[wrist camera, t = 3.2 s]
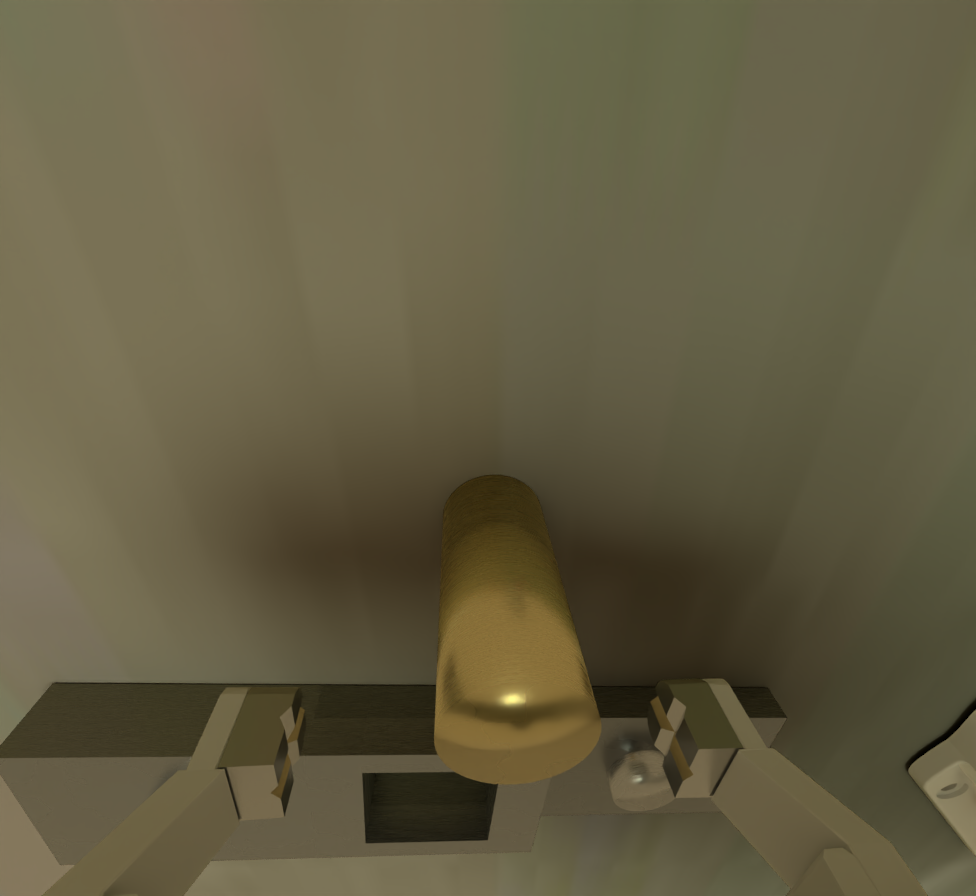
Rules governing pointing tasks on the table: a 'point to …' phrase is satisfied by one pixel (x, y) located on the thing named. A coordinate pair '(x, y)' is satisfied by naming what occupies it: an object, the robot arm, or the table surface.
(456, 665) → the brass pin
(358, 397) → the table surface
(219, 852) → the latch strike plate
